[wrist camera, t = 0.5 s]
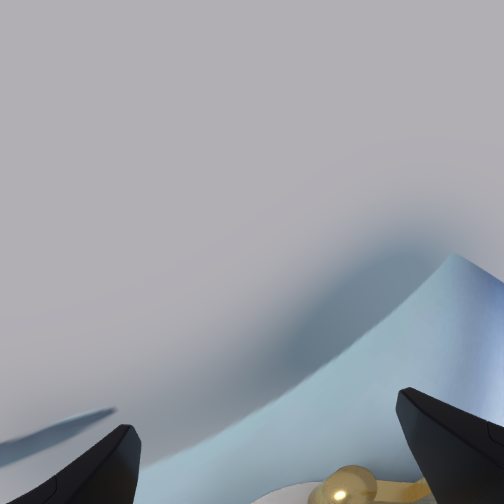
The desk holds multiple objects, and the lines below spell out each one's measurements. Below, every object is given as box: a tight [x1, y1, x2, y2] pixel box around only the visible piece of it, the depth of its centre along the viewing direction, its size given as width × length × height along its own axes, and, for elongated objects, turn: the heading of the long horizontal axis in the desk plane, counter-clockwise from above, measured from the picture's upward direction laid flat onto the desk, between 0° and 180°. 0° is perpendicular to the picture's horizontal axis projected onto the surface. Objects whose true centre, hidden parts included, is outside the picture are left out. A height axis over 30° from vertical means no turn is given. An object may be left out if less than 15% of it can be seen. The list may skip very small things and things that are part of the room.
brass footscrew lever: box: [307, 465, 437, 504], centre depth 13 cm, size 3×11×6 cm, turn 73°
